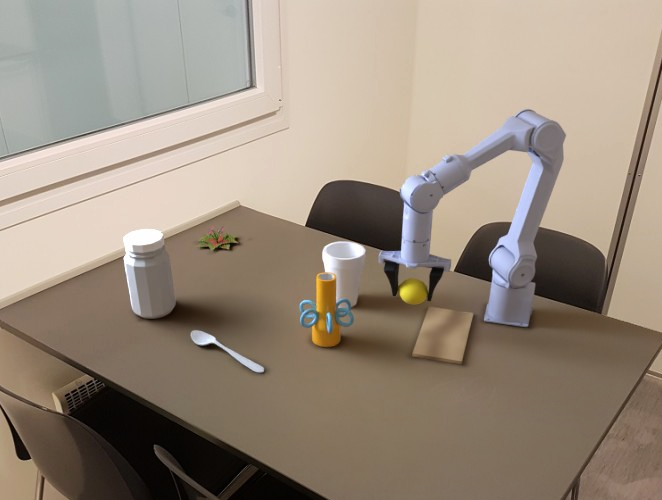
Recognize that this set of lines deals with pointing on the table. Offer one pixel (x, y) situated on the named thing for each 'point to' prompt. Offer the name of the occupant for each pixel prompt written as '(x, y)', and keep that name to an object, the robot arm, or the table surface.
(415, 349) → the birch board
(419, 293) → the lemon
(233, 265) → the table surface
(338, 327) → the cylinder
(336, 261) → the foam cup
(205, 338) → the spoon
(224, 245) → the lily flower
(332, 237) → the table surface
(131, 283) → the jar
